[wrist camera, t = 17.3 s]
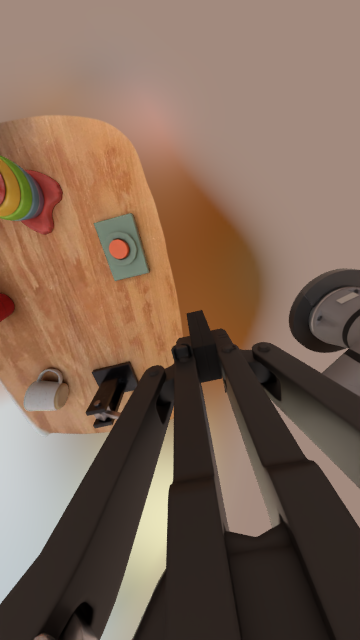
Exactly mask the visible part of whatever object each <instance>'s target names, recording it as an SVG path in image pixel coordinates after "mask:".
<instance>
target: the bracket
mask: <svg viewBox="0 0 360 640" xmlns="http://www.w3.org/2000/svg"><path fill="white" fill-rule="evenodd" d="M92 374H93V376H94V378H95V380H96V382H97V384H98V386H99V389H98V391H97V393H96V394H95V396H94V398H93V400H92V402H91V404H90V405H89V407H88V409H87V411H86V414H87V416H89V415H93V414H98V413H103V412H106V410H107V408H108V406H109V408H110V410H111V411H115V412H117V411H118V408H119V406H120V403H121V400H122V397H123V394H124V392H128V391H132V390H135V388H136V386H137V385H138V383H139V382H138V380H137V378H136V375H135V373H134V370H133V368H132V366H131V363H130V362H126V363H122V364H118V365H113V366H109V367H105V368H101V369H96V370H93V372H92ZM114 420H115V419H113V418H109V417H107V419H106V420H105V421H103V420H99V419H96V420H95V422H94V425H93V426H94V428H99V427H104V426H108V425H113V422H114Z"/></svg>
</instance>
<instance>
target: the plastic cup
mask: <svg viewBox="0 0 360 640" xmlns="http://www.w3.org/2000/svg"><path fill="white" fill-rule="evenodd" d="M14 309H15V308H14V303H13V301H12V300H11V299H10V298H9V297H8V296H6V295H5V294H2V293H0V322H1V321H2V320H4V319H5V318H6V317H8V316H9V315H11V314H12V313H13V311H14Z"/></svg>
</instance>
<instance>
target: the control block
mask: <svg viewBox="0 0 360 640" xmlns="http://www.w3.org/2000/svg"><path fill="white" fill-rule="evenodd" d="M94 226H95V228H96V231H97V234H98V237H99V239H100V242H101V245H102V247H103V250H104V253H105V256H106V258H107V261H108V264H109V267H110V269H111V272H112V275H113V278H114V280H115V281H117V280H121V279H125V278H129V277H133V276H137V275H141V274H145V273H149V272H150V270H149V266H148V263H147V259H146V256H145V253H144V249H143V246H142V242H141V239H140V235H139V232H138V228H137V225H136V222H135V218H134V215H133V214H132V213H130V214H126V215H122V216H119V217H115V218H111V219H108V220H104V221H100V222H97V223H94ZM116 239H118V240H123V241H125V242H126V243H127V244H128V246H129V254H128V256H127V257H125V258H122V259H117V258H114V257H113V256H112V255H111V253H110V251H109V245H110V243H111V242H112V241H113V240H116Z"/></svg>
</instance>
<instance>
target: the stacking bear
mask: <svg viewBox="0 0 360 640" xmlns="http://www.w3.org/2000/svg"><path fill="white" fill-rule="evenodd" d="M61 198H62V190H61V188H60V185H59V184H58V183H57V182H56V181H55V180H53V179H52V178H50V177H48V176H46V175H44V174H42V173H39V172H36V171H32V170H24V169H22V168H21V167H20V166H18V165H17V164H15V163H14V162H12V161H11V160H9V159H7V158H5V157H3V156H0V218H2V219H5V220H12V221H21V222H22V223H24V224H25V225H26V226H28V227H29V228H31V229H33V230H34V231H36V232H39V233H41V234H47V233H51V232H52V229H53V227H54V223H53V219H52V210H53V208H54V206H55V205H56V204H57V203H58V202H59V201H60V200H61Z"/></svg>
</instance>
